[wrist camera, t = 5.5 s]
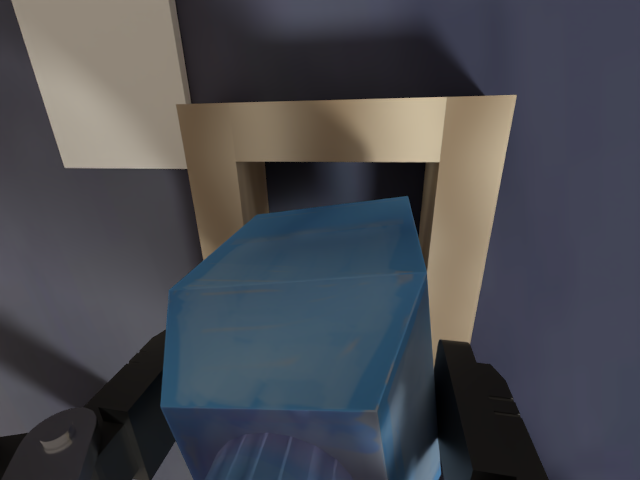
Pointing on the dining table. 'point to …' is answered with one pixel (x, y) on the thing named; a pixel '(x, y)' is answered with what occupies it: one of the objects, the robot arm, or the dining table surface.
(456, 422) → the robot arm
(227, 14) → the dining table surface
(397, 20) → the dining table surface
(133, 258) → the dining table surface
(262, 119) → the pocket block
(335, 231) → the perfume bottle
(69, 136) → the coaster
